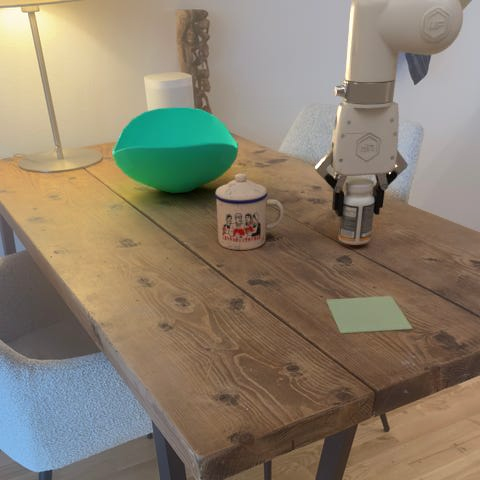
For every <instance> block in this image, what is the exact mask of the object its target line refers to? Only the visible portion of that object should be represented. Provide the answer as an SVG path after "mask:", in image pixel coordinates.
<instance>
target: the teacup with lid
mask: <svg viewBox="0 0 480 480" xmlns="http://www.w3.org/2000/svg"><path fill="white" fill-rule="evenodd" d="M247 178H248V177H247V174H245V173H236V174H235V175H234V179H232V180H230V181H229V182H228V183H225V184H222V185H220V186H219V187H217V188H216V190H215V193H214V198H215V199H216V217H217V219H216V220H217V241H218V244H220V246H221V247H223V248H225V249H228V250H234V251H248V250H254V249H257V248H259V247H262V246H263V245H264V244H265V242H266V238H267V237H266V235H267V234H266V232H267V230H270V229H271V230H272V229H274V228H276V227H277V226H279V225H280V223H281V222H282V220H283V217H284V206H283V205H282V203H281V202H280V201H279V200H277V199H273V198H272V199H271V198H269V199H267V196H268V191H267V189H266V187H264V186H263V185H262V184H259V183H255V181H252V180H250V179H247ZM269 205H271V206H272V205H274V206H276V207H278V208H279V209H278V211H279V212H278V215H277V217H276V219H275V220H274V221H273V222H271V223H267V219H266V218H267V206H269Z"/></svg>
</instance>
